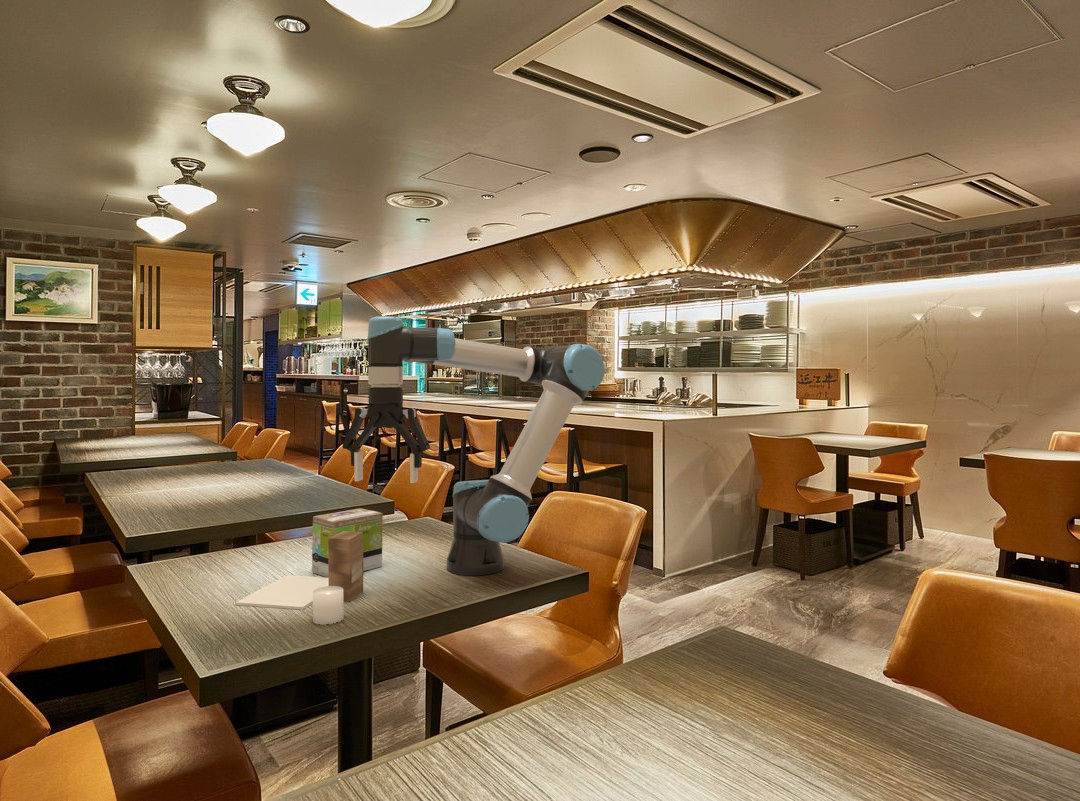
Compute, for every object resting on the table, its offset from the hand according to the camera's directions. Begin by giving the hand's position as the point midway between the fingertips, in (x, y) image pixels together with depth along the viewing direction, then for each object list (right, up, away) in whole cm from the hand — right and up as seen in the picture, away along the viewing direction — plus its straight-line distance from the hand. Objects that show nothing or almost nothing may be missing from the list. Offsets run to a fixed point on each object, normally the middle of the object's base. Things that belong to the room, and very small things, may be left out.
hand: (386, 481), depth 146 cm
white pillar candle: (-9, -27, -12) cm, 31 cm away
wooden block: (-10, -26, +2) cm, 28 cm away
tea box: (-15, -26, +23) cm, 38 cm away
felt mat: (-22, -26, +5) cm, 35 cm away
